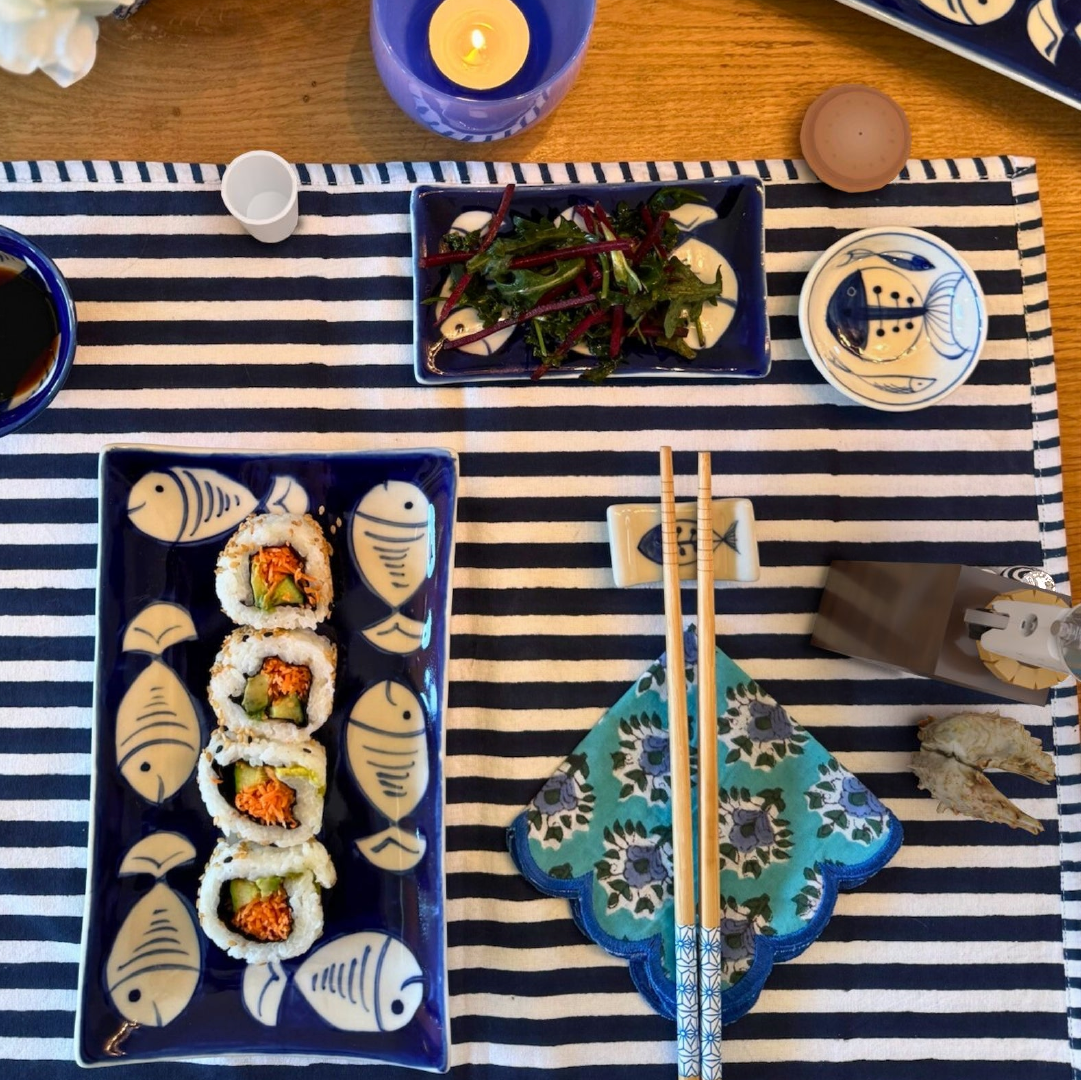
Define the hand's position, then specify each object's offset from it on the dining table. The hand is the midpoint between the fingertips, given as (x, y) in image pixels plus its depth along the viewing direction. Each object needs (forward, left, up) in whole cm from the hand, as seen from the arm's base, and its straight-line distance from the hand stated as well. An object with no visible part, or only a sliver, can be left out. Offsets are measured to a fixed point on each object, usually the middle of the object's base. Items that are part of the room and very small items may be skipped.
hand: (989, 628), depth 105 cm
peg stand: (-4, 0, -38) cm, 38 cm away
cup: (+90, -30, -38) cm, 102 cm away
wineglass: (-19, -9, -38) cm, 44 cm away
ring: (-4, 0, 0) cm, 4 cm away
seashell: (-20, +15, -38) cm, 46 cm away
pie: (+15, -63, -38) cm, 75 cm away
